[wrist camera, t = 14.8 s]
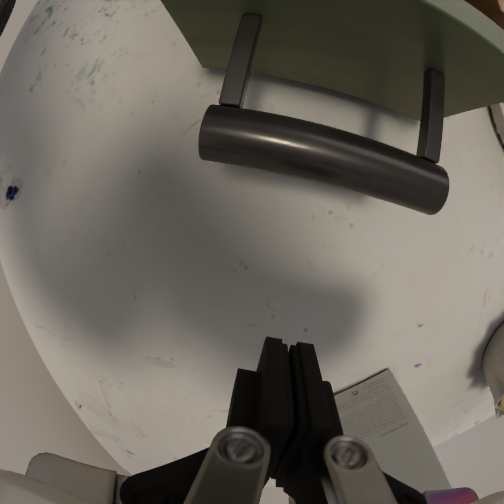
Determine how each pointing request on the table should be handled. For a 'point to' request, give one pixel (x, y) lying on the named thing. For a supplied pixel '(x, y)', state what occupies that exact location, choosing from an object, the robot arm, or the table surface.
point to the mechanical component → (499, 118)
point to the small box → (391, 432)
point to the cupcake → (495, 369)
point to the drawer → (347, 83)
